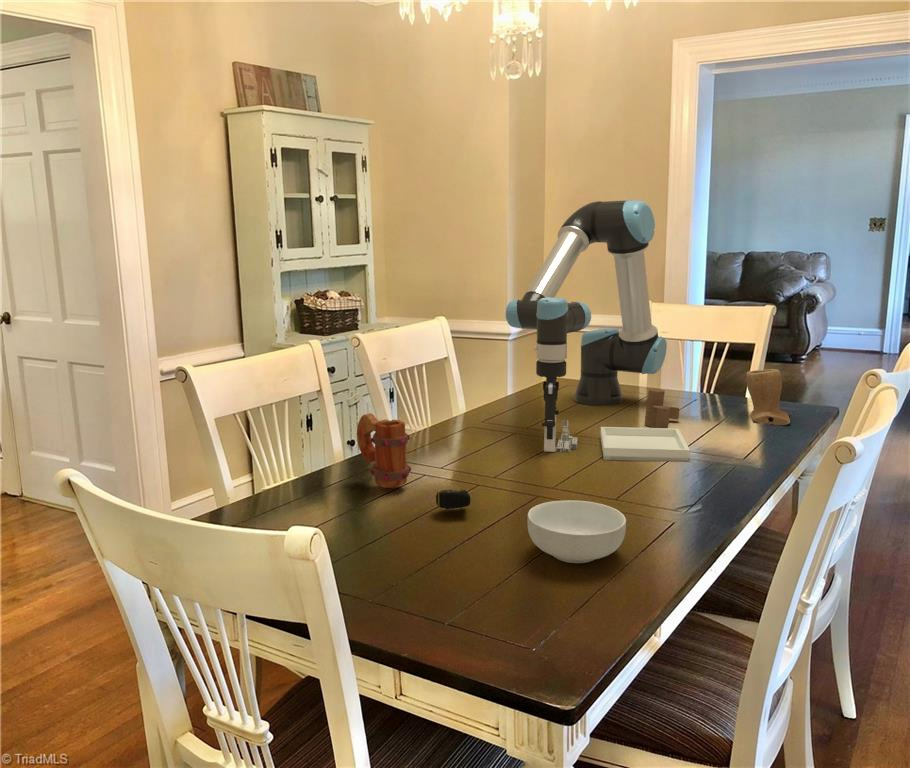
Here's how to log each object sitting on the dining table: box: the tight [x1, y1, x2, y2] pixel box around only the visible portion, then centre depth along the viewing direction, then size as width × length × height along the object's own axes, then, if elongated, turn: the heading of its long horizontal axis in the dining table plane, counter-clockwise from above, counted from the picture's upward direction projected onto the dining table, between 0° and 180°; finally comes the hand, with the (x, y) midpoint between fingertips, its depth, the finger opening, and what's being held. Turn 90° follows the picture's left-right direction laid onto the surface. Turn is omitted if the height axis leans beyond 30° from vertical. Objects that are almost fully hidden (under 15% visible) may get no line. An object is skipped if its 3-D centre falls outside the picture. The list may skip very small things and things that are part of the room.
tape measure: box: [435, 489, 472, 511], centre depth 156 cm, size 7×7×4 cm
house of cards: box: [555, 419, 579, 453], centre depth 197 cm, size 9×9×8 cm
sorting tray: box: [600, 426, 691, 462], centre depth 196 cm, size 20×20×3 cm
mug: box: [356, 412, 412, 489], centre depth 173 cm, size 15×8×15 cm, turn 47°
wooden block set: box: [644, 387, 680, 428], centre depth 215 cm, size 18×9×10 cm, turn 160°
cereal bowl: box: [526, 499, 627, 564], centre depth 135 cm, size 17×17×7 cm
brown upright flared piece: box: [745, 368, 791, 426], centre depth 221 cm, size 15×12×15 cm
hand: (550, 445), depth 201 cm, fingers open, 10 cm apart
